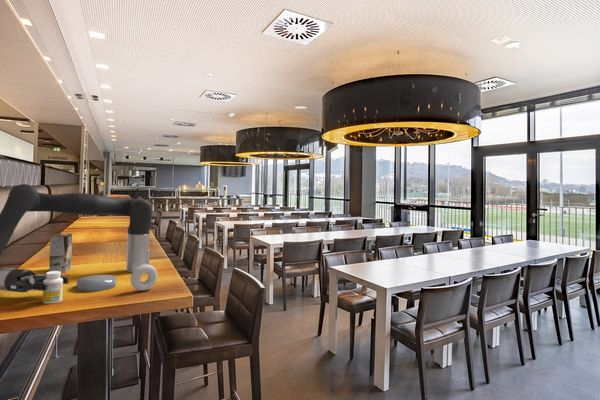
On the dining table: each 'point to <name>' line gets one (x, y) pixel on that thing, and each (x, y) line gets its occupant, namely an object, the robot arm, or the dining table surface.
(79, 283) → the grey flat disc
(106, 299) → the dining table surface
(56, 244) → the coffee box
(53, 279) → the supplement bottle
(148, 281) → the donut
